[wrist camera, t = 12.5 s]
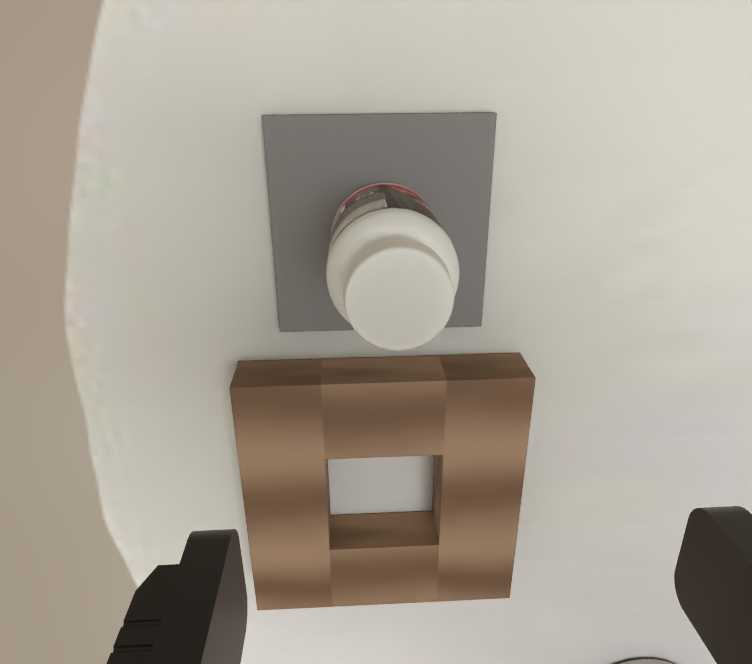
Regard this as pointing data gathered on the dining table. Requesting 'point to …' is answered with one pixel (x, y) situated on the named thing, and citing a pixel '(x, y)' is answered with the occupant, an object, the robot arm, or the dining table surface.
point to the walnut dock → (382, 439)
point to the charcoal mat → (365, 167)
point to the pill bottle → (391, 267)
